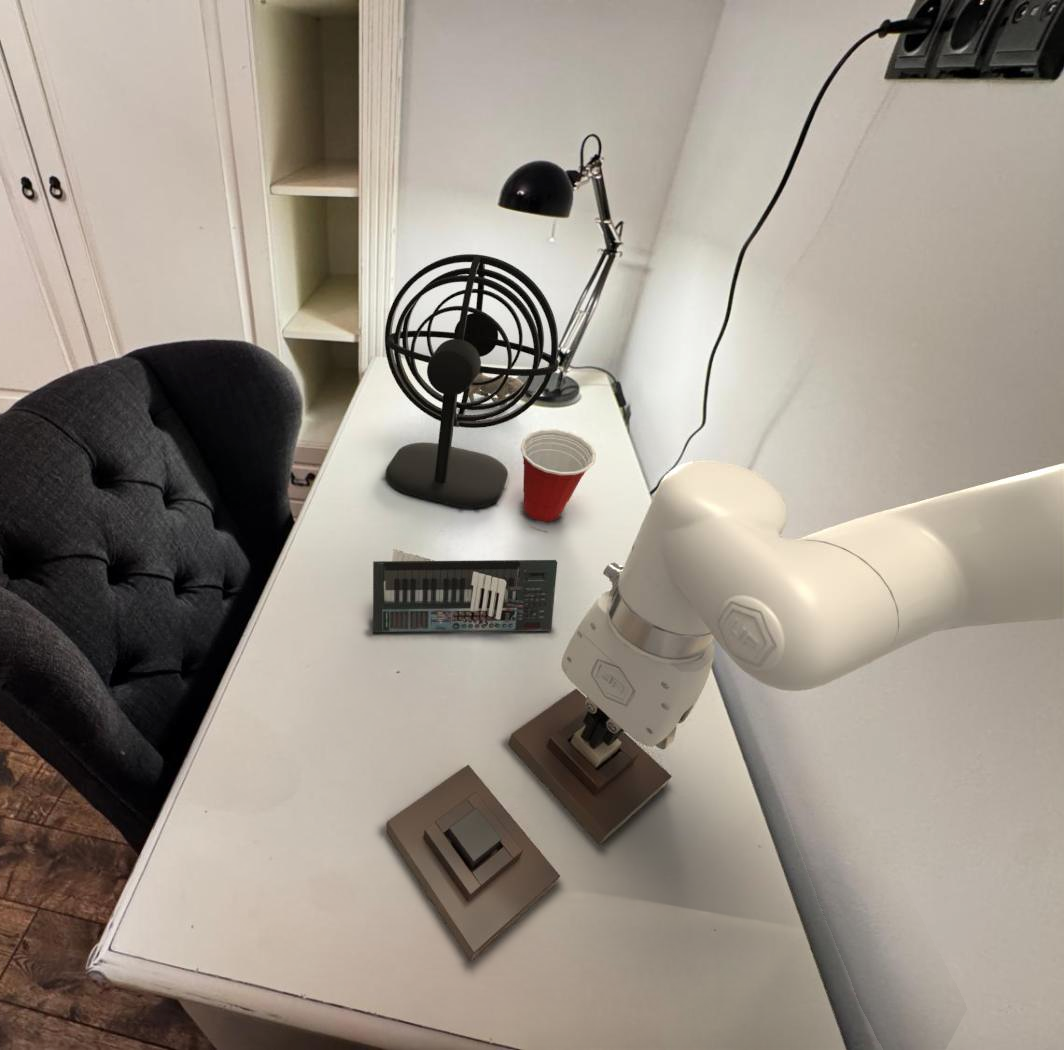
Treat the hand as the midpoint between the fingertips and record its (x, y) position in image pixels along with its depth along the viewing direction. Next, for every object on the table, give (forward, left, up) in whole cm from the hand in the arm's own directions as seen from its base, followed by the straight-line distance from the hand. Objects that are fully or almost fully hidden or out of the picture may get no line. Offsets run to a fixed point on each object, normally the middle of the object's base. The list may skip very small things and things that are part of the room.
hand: (597, 735), depth 56 cm
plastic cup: (+32, -28, -6) cm, 43 cm away
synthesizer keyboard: (+22, -2, -6) cm, 23 cm away
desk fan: (+48, -22, -6) cm, 53 cm away
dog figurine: (+63, -47, -6) cm, 79 cm away
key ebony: (0, +16, -2) cm, 16 cm away
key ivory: (0, 0, -2) cm, 2 cm away
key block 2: (0, 0, -6) cm, 6 cm away
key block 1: (0, +16, -6) cm, 17 cm away
